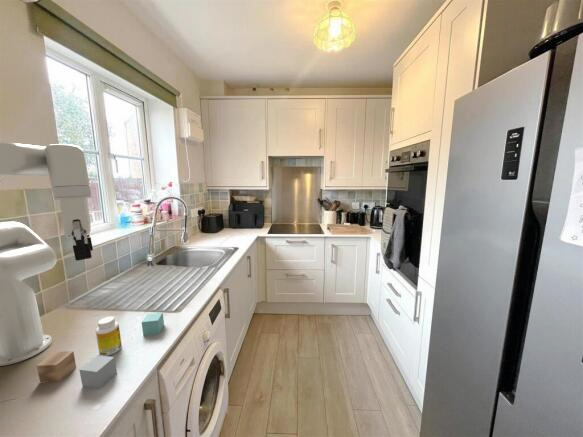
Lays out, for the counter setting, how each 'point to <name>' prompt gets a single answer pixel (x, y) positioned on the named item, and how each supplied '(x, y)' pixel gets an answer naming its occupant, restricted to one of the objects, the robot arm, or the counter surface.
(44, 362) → the walnut block
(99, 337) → the supplement bottle
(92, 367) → the slate block
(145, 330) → the teal block
